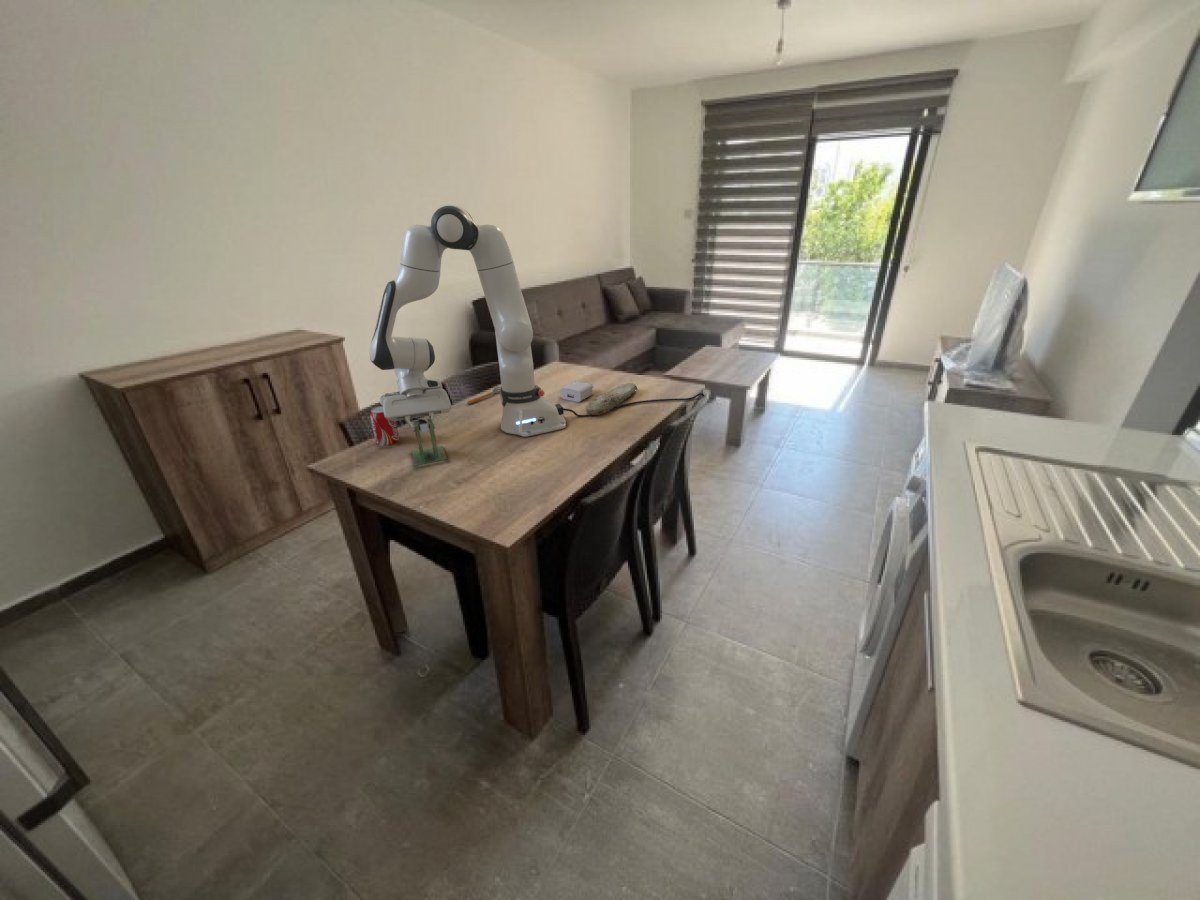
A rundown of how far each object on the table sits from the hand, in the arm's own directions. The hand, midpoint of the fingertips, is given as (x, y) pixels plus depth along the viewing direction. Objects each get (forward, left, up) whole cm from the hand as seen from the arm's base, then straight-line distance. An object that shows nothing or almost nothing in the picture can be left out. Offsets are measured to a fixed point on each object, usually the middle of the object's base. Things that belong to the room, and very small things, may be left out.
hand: (422, 428), depth 150 cm
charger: (-60, -30, -6) cm, 67 cm away
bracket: (-1, +10, -6) cm, 11 cm away
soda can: (+11, -5, -6) cm, 14 cm away
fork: (-23, -39, -6) cm, 46 cm away
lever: (-1, +5, +1) cm, 5 cm away
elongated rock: (-70, -17, -6) cm, 72 cm away
